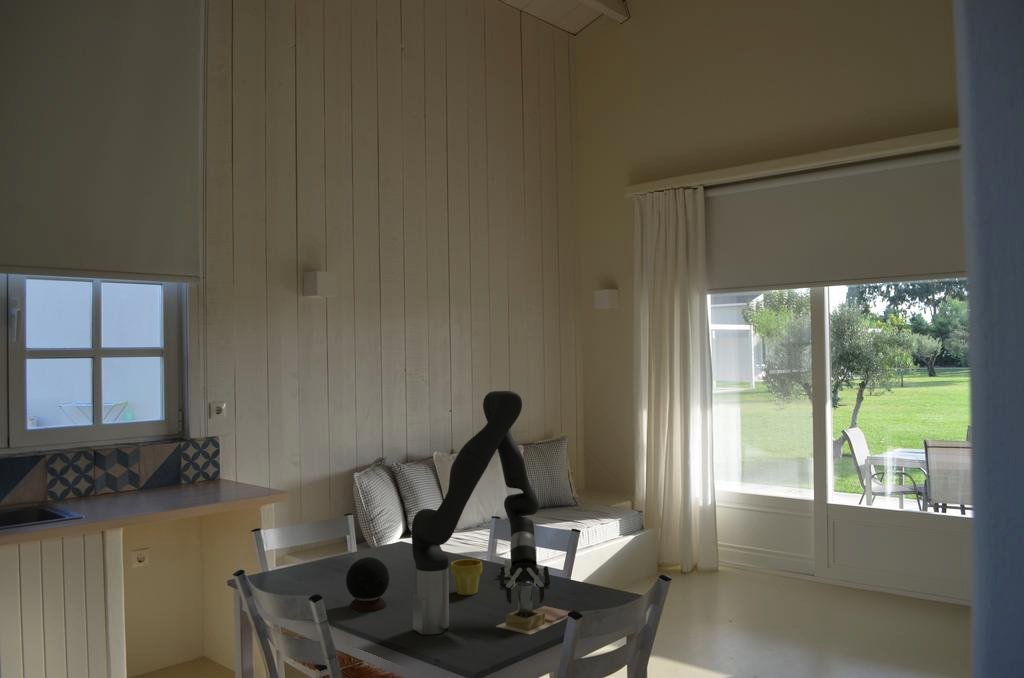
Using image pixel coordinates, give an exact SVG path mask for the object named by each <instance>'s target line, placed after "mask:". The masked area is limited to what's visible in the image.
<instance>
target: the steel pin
mask: <svg viewBox="0 0 1024 678" xmlns="http://www.w3.org/2000/svg"><path fill="white" fill-rule="evenodd" d="M517 610H518V616H520V617H525V618H529V617H531V616H533V584H532V581H531V580H519V581H518V583H517Z"/></svg>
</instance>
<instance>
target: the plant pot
mask: <svg viewBox="0 0 1024 678" xmlns="http://www.w3.org/2000/svg"><path fill="white" fill-rule="evenodd" d="M450 573H451V575H452V576H453V581H454V585H455V589H456V594H458V595H460V596H470V595H471V596H473V595H476V594H477V593H478V589H479V583H480V578H481V574H482V573H483V562H482V561H481V560H480V559H479V560H478V559H474V558H473V559H472V558H471V559H470V558H464V559H457V560H453V561H451V563H450Z"/></svg>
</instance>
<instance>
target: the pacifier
mask: <svg viewBox="0 0 1024 678" xmlns="http://www.w3.org/2000/svg"><path fill="white" fill-rule="evenodd" d="M504 566H505V567H504V568H505V569H510V568H511V560H509V559H507V558H506V559H505V560H504ZM511 577H512V576H511V575H510V574H508V575H507V577H506V578H510V579H511Z"/></svg>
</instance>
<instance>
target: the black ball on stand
mask: <svg viewBox="0 0 1024 678" xmlns="http://www.w3.org/2000/svg"><path fill="white" fill-rule="evenodd" d="M345 583H346V588H347V590H348V592H349V594H350V595H351V596H352V597H353V598H355V599H353V600H352V601H351V602H350V603H349V607H348V608H350V609H351V610H350V609H349V610H350V611H352V610H353V611H352V612H355V611H357V612H356V613H373V611H374V612H378V611H381V610H384V609H386V607H387V602H386V601H385V599H383V598H382V596H384V594H385V593H386V591H387V589H388V587H389V584H390V573H389V569H388V568H387V565H385V564H384V562H382V561H381V560H379V558H378V559H377V558H376V557H369V556H368V557H363V558H362V557H361V558H359V559H358V560H356V561H354V563H352V565H350V567H349V569H348V570H347V573H346V579H345Z"/></svg>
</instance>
